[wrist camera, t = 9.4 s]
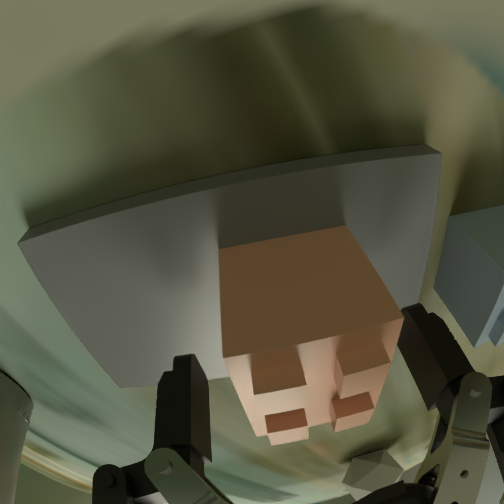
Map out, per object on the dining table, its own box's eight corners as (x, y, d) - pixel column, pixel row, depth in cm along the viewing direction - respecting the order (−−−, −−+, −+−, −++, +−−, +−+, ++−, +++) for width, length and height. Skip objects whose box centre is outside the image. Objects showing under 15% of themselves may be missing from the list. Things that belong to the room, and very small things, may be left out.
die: (331, 466, 39) (367, 501, 35) (330, 483, 32) (371, 522, 27) (371, 434, 40) (406, 469, 36) (378, 445, 32) (418, 485, 28)
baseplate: (122, 372, 18) (119, 387, 17) (28, 229, 11) (17, 243, 11) (401, 319, 18) (409, 333, 17) (426, 144, 11) (441, 153, 10)
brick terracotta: (342, 326, 15) (379, 425, 10) (245, 346, 15) (259, 453, 10) (345, 225, 12) (416, 338, 7) (218, 249, 12) (224, 384, 7)
